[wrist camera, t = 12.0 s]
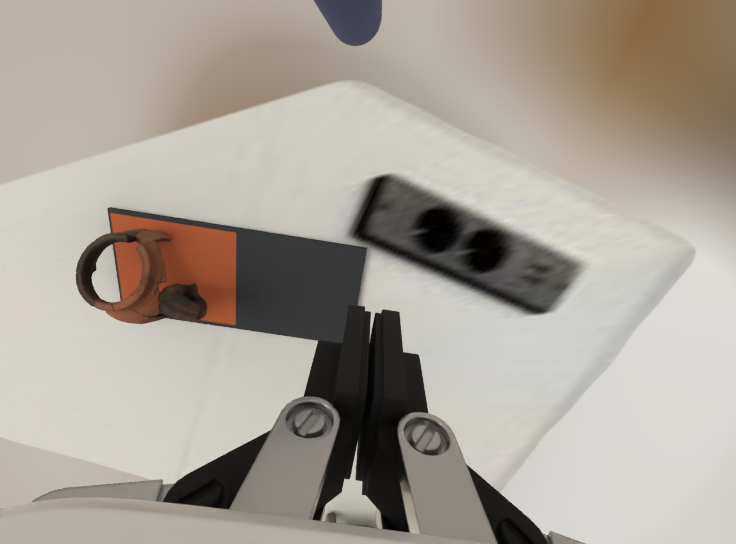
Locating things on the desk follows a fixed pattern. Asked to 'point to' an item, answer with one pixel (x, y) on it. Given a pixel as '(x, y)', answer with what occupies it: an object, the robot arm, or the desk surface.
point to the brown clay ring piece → (141, 283)
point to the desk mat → (249, 274)
